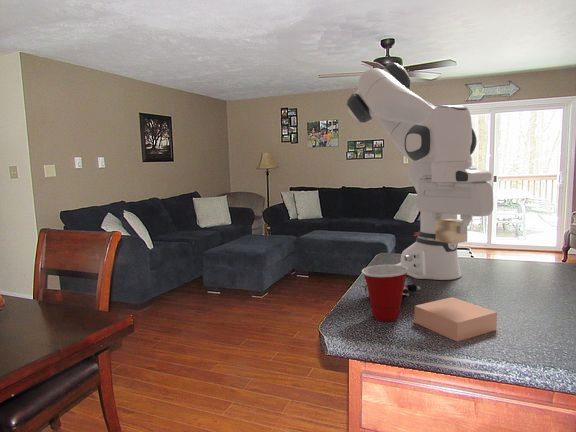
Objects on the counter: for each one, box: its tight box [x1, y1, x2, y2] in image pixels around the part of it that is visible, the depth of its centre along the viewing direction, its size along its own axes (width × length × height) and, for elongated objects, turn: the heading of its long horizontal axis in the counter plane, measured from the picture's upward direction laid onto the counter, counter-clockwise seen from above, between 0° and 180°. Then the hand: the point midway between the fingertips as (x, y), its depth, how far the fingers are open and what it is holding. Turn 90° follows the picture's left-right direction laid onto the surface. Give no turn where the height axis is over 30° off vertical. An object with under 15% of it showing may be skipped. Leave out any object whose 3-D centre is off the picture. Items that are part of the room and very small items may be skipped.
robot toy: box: [359, 281, 421, 300], centre depth 113 cm, size 12×4×15 cm
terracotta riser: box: [414, 296, 498, 342], centre depth 92 cm, size 12×12×4 cm
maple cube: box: [436, 219, 468, 244], centre depth 99 cm, size 5×5×5 cm
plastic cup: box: [361, 264, 408, 322], centre depth 98 cm, size 11×11×12 cm
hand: (451, 232), depth 99 cm, fingers closed on maple cube, 5 cm apart
